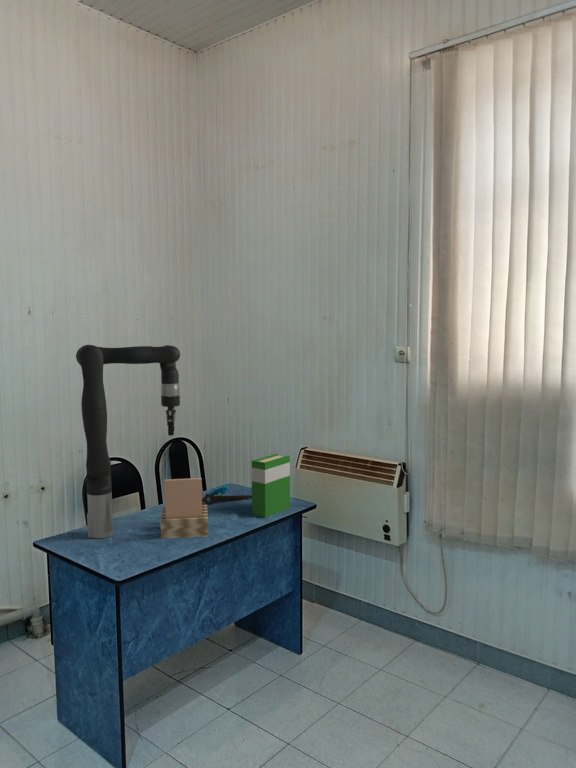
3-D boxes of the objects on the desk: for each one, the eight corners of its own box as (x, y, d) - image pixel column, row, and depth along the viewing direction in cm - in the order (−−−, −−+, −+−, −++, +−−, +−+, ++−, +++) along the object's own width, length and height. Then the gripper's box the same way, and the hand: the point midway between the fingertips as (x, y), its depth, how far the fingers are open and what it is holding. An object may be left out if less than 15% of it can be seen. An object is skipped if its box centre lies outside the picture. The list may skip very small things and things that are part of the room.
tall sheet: (166, 536, 247) (164, 480, 244) (166, 535, 248) (164, 479, 246) (202, 534, 249) (201, 478, 247) (202, 532, 251) (201, 477, 248)
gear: (224, 492, 307) (228, 482, 299) (229, 503, 304) (233, 492, 297) (203, 499, 301) (207, 488, 294) (208, 510, 298) (212, 499, 291)
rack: (160, 542, 244) (160, 520, 244) (163, 526, 263) (162, 506, 262) (208, 539, 247) (207, 518, 246) (207, 524, 266) (207, 504, 265)
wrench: (264, 504, 300) (202, 507, 288) (260, 502, 305) (199, 505, 293) (264, 493, 300) (202, 496, 288) (260, 491, 305) (199, 493, 293)
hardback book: (276, 505, 292) (276, 453, 289) (289, 508, 288) (289, 455, 285) (252, 514, 278) (251, 460, 275) (265, 518, 274) (264, 463, 271)
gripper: (162, 392, 268) (163, 430, 270) (160, 396, 254) (161, 436, 256) (180, 392, 269) (181, 430, 271) (179, 396, 255) (180, 436, 257)
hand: (171, 433), depth 263 cm, fingers open, 8 cm apart
